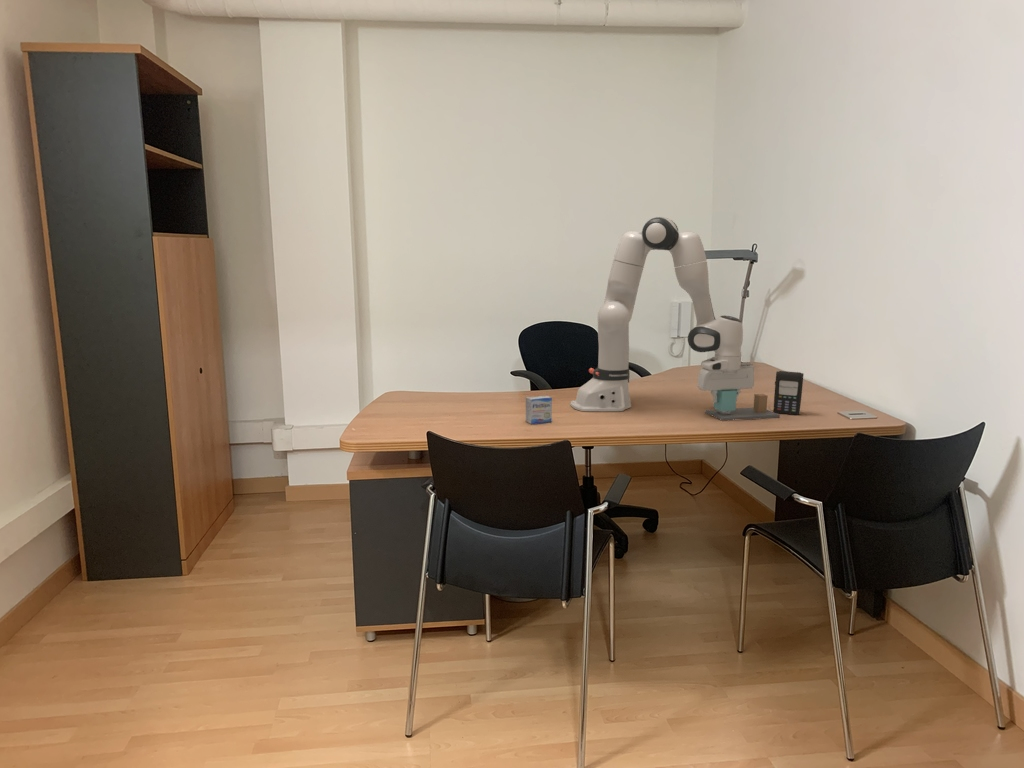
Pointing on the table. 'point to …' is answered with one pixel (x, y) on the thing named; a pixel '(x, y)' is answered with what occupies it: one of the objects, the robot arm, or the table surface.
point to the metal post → (724, 412)
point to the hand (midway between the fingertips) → (724, 401)
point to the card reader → (788, 392)
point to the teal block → (726, 400)
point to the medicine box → (538, 409)
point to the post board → (748, 411)
